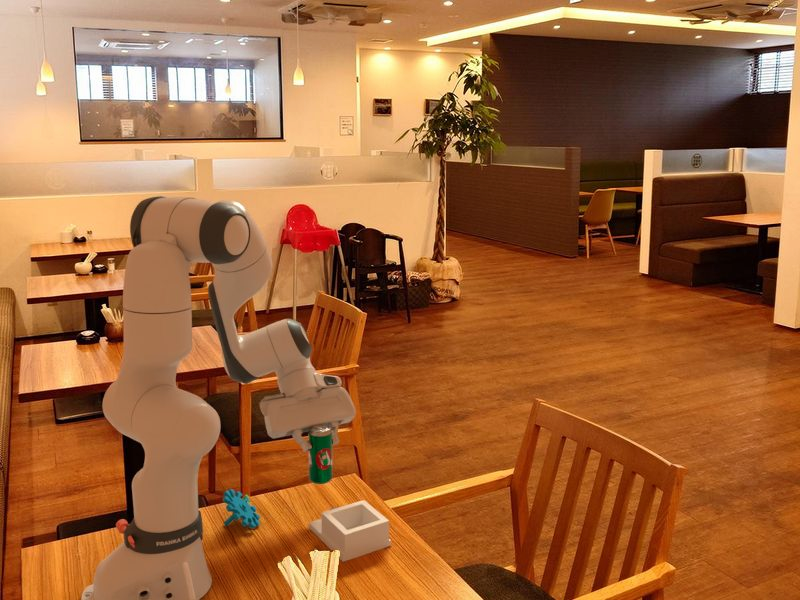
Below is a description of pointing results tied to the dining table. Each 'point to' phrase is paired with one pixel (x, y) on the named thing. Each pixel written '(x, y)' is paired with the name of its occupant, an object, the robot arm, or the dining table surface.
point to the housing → (353, 530)
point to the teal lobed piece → (240, 509)
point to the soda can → (320, 454)
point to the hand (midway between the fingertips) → (321, 447)
